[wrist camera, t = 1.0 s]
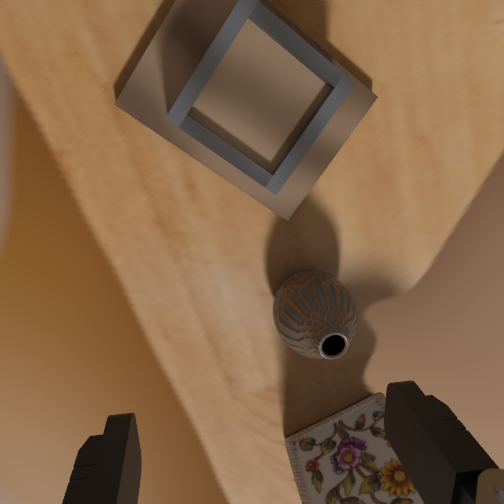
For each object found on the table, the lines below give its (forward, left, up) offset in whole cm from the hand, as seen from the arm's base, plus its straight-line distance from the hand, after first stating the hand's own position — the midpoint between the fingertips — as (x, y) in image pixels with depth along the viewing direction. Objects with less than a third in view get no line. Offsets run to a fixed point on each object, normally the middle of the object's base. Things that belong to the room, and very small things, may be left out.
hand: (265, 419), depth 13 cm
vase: (+2, +11, -25) cm, 27 cm away
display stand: (-9, -3, -24) cm, 26 cm away
